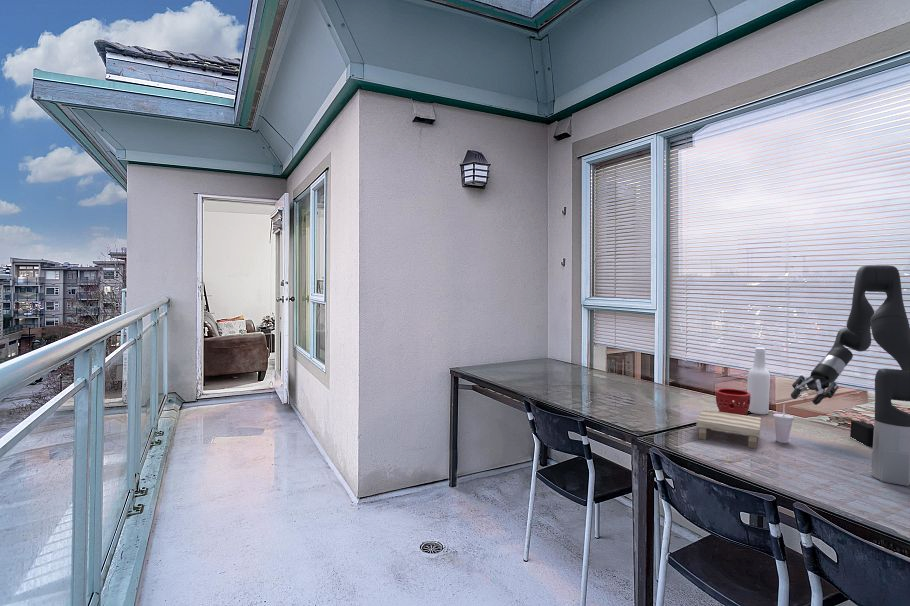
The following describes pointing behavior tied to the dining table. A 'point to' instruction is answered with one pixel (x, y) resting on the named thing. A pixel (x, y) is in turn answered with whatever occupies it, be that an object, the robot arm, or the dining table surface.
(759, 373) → the alcohol
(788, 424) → the smoothie
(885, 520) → the dining table surface
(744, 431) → the low wooden platform
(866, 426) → the digital camera
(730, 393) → the plant pot
